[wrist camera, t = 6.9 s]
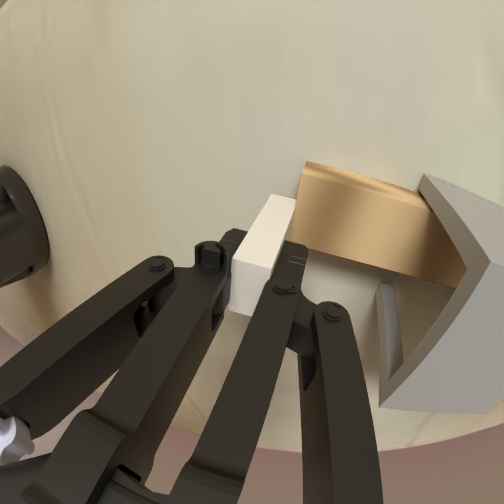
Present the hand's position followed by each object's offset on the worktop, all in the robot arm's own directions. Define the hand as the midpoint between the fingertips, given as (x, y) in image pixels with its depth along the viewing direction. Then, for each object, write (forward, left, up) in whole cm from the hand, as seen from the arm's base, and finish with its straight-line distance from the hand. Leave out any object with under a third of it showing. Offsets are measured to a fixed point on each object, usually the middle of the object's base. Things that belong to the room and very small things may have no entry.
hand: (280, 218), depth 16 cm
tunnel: (+11, 0, -1) cm, 12 cm away
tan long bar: (+9, +1, -2) cm, 9 cm away
